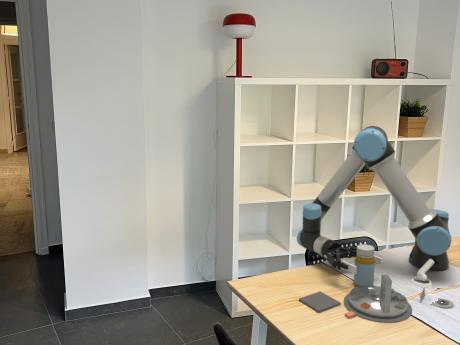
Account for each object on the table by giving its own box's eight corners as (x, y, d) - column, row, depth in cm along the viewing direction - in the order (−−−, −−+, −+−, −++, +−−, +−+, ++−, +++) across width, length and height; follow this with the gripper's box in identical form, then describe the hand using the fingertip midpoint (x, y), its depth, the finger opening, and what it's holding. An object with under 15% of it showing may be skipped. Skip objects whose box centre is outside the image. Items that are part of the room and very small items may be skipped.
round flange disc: (342, 290, 160) (344, 256, 158) (395, 291, 160) (398, 256, 157) (356, 318, 142) (358, 280, 139) (416, 318, 141) (419, 280, 139)
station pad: (320, 293, 160) (320, 291, 160) (340, 304, 151) (340, 302, 151) (298, 300, 154) (298, 298, 154) (318, 313, 146) (319, 310, 146)
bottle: (359, 279, 171) (361, 242, 168) (376, 285, 166) (379, 247, 163) (350, 285, 166) (352, 247, 163) (367, 291, 161) (369, 252, 158)
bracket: (452, 311, 147) (452, 301, 147) (419, 303, 153) (420, 294, 152) (454, 303, 153) (455, 294, 152) (423, 296, 158) (423, 287, 157)
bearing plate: (373, 285, 166) (373, 284, 166) (426, 310, 147) (426, 309, 147) (330, 300, 154) (330, 299, 154) (382, 330, 136) (382, 329, 136)
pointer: (351, 313, 146) (351, 310, 145) (355, 316, 144) (355, 313, 144) (344, 316, 144) (344, 313, 144) (349, 319, 142) (349, 316, 142)
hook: (450, 273, 163) (440, 266, 160) (428, 297, 165) (417, 291, 162) (436, 262, 170) (426, 254, 166) (415, 285, 172) (405, 278, 168)
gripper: (348, 250, 187) (390, 268, 169) (303, 263, 174) (344, 284, 156) (349, 233, 185) (392, 249, 168) (304, 245, 173) (345, 264, 155)
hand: (369, 266), depth 162 cm, fingers open, 13 cm apart
